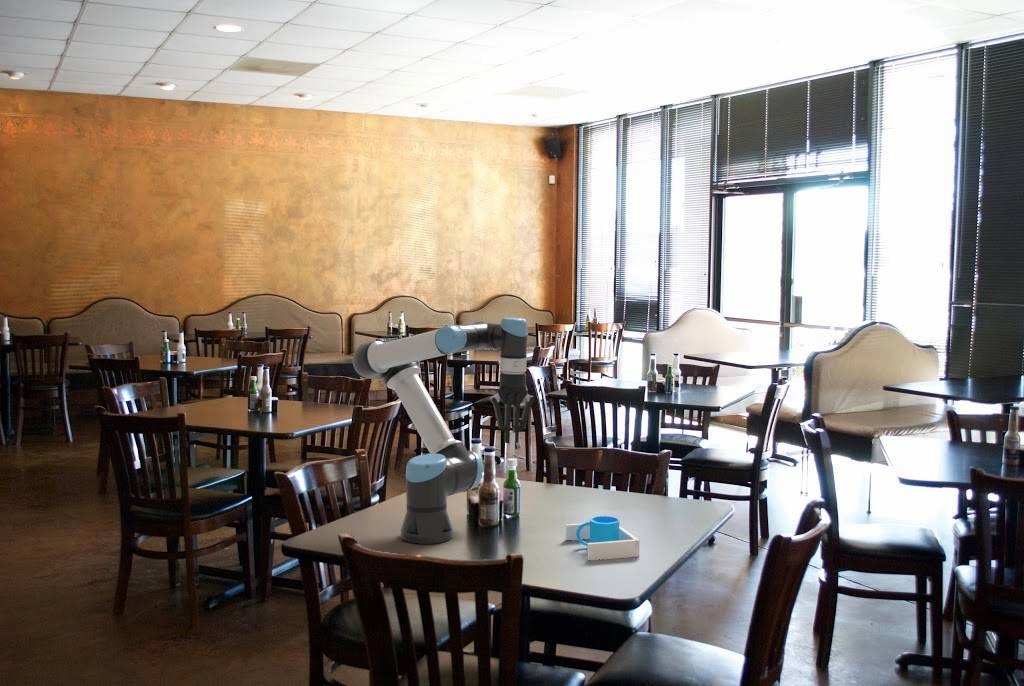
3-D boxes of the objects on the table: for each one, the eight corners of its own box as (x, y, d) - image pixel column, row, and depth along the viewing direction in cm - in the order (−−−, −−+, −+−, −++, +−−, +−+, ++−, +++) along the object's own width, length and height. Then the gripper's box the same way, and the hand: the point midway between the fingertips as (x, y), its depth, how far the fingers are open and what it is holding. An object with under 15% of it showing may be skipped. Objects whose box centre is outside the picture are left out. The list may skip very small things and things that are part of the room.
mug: (619, 544, 271) (619, 516, 270) (619, 553, 263) (619, 524, 262) (576, 543, 272) (576, 515, 271) (575, 552, 264) (575, 522, 263)
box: (588, 560, 256) (588, 544, 256) (565, 539, 275) (565, 524, 275) (639, 556, 260) (639, 540, 259) (613, 536, 279) (613, 521, 279)
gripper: (493, 374, 267) (491, 457, 269) (538, 374, 270) (536, 456, 272) (487, 370, 274) (485, 451, 276) (531, 370, 277) (529, 450, 279)
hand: (511, 454), depth 274 cm, fingers closed
